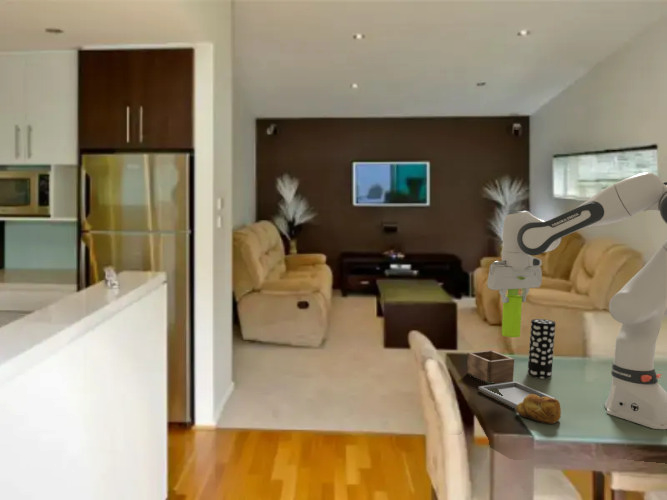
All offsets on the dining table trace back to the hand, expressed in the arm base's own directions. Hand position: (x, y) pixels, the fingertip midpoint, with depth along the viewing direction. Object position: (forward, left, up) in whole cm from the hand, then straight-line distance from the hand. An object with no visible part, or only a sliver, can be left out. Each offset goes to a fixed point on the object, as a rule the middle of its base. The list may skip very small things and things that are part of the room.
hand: (513, 302), depth 204 cm
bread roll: (-23, +9, -31) cm, 39 cm away
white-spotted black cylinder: (+10, -24, -30) cm, 40 cm away
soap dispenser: (0, 0, -12) cm, 12 cm away
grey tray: (-6, +2, -30) cm, 31 cm away
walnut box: (+14, -4, -30) cm, 33 cm away
